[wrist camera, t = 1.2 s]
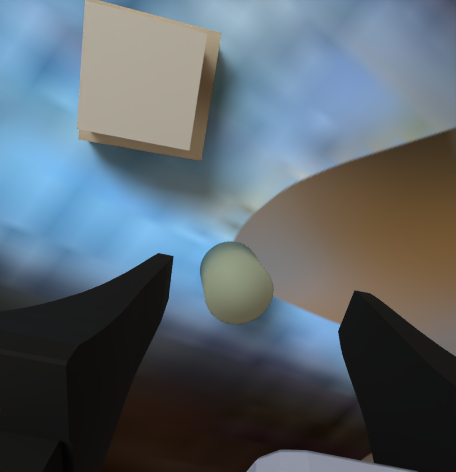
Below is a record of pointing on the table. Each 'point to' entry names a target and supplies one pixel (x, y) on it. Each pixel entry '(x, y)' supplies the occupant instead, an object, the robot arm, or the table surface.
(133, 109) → the cream block
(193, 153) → the birch base block
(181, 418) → the table surface
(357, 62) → the table surface
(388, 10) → the table surface
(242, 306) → the green capsule
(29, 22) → the table surface
